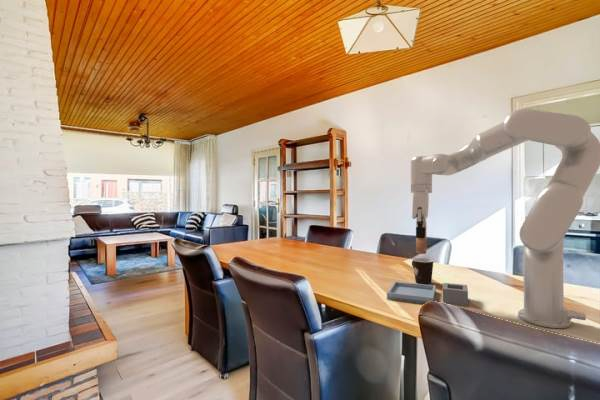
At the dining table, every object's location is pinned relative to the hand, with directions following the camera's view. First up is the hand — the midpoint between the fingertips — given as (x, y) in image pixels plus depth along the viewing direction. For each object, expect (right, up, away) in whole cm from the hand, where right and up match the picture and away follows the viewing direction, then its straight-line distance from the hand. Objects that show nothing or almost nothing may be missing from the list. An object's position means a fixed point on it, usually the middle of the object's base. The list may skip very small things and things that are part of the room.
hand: (421, 236), depth 117 cm
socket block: (+11, -23, -5) cm, 26 cm away
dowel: (0, -6, 0) cm, 6 cm away
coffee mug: (+8, -23, +20) cm, 31 cm away
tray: (-3, -23, +2) cm, 23 cm away
